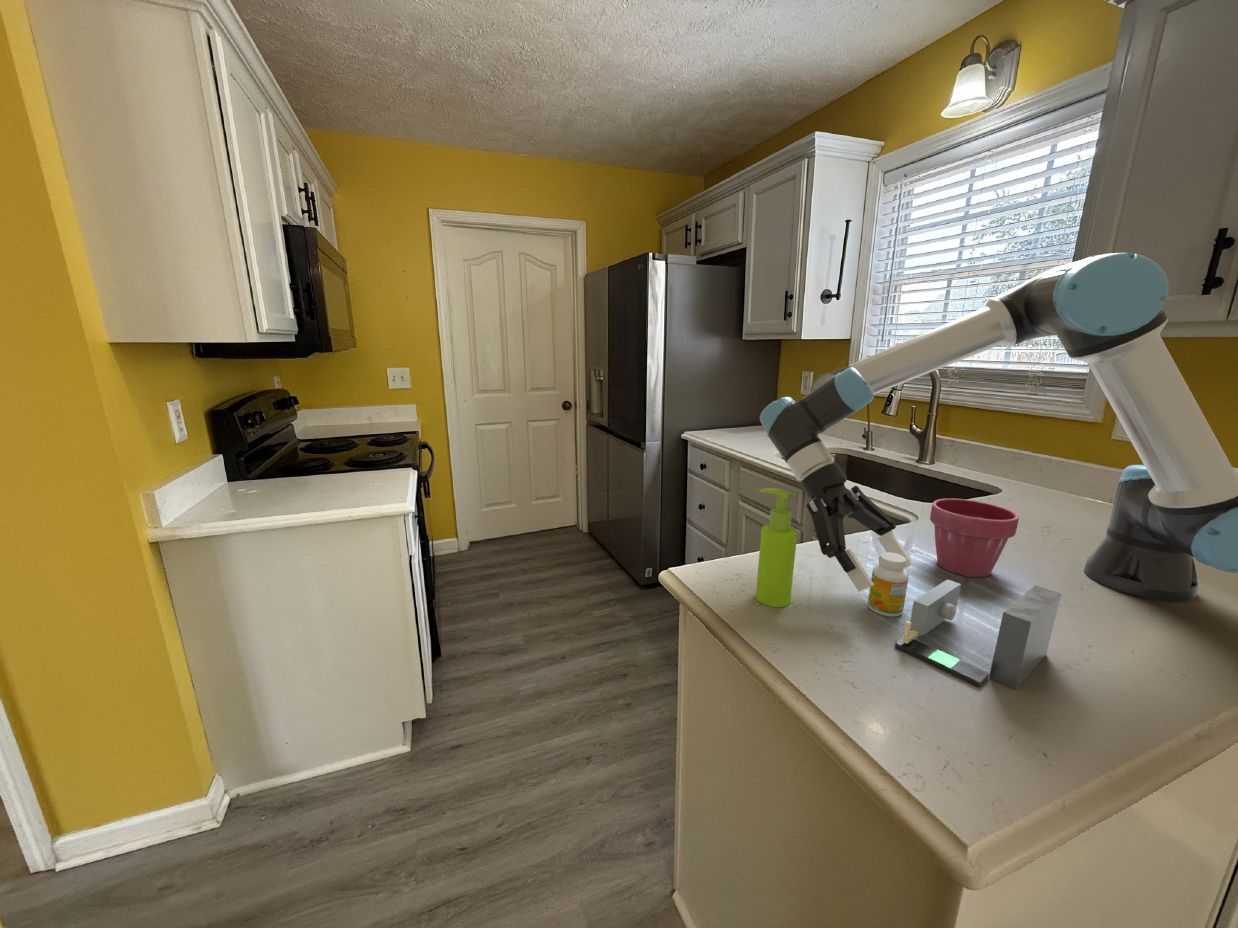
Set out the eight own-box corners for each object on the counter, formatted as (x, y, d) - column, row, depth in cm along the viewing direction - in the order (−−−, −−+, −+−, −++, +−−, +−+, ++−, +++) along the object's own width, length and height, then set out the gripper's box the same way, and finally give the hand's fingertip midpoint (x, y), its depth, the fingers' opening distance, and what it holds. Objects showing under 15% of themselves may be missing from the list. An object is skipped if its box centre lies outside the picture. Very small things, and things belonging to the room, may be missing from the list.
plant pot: (962, 550, 110) (972, 495, 107) (1025, 579, 97) (1039, 517, 94) (907, 556, 107) (916, 499, 104) (964, 587, 94) (976, 523, 91)
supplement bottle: (861, 601, 88) (868, 550, 86) (890, 600, 89) (898, 549, 87) (879, 618, 83) (887, 564, 81) (909, 616, 84) (918, 563, 81)
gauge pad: (897, 639, 75) (902, 607, 74) (942, 608, 84) (947, 579, 83) (922, 650, 72) (928, 617, 71) (965, 617, 81) (971, 587, 80)
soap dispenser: (761, 585, 94) (770, 483, 89) (796, 599, 89) (807, 491, 84) (744, 596, 90) (752, 489, 85) (779, 611, 85) (790, 499, 80)
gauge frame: (894, 647, 75) (904, 586, 73) (942, 613, 85) (952, 559, 82) (1006, 700, 64) (1021, 631, 62) (1046, 654, 74) (1061, 593, 71)
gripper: (839, 473, 102) (904, 567, 94) (760, 493, 88) (829, 606, 80) (868, 452, 97) (939, 550, 89) (789, 471, 83) (866, 589, 75)
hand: (887, 577), depth 84 cm, fingers open, 13 cm apart
